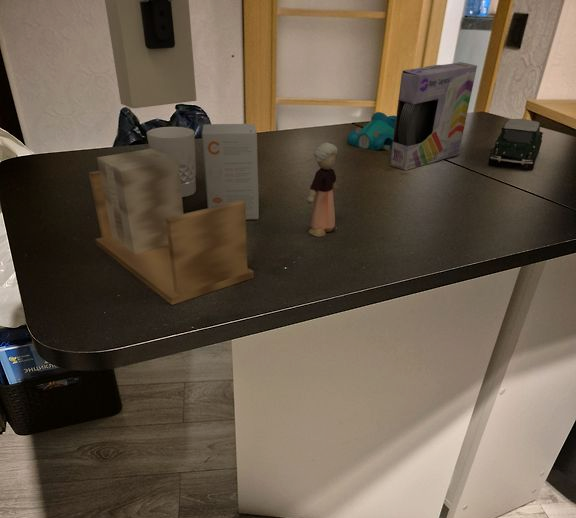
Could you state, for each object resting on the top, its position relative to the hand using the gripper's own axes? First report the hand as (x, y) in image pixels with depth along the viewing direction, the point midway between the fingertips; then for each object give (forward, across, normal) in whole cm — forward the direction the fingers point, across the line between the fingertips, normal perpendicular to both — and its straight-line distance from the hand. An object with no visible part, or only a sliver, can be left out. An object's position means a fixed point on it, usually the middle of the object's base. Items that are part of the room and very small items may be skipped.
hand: (151, 44), depth 58 cm
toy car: (+25, -30, +73) cm, 83 cm away
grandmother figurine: (+25, +3, +24) cm, 35 cm away
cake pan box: (+25, -13, +67) cm, 73 cm away
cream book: (+6, 0, 0) cm, 6 cm away
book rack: (+25, -1, 0) cm, 25 cm away
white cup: (+25, -26, +15) cm, 39 cm away
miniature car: (+25, -2, +84) cm, 88 cm away
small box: (+25, -11, +17) cm, 32 cm away
